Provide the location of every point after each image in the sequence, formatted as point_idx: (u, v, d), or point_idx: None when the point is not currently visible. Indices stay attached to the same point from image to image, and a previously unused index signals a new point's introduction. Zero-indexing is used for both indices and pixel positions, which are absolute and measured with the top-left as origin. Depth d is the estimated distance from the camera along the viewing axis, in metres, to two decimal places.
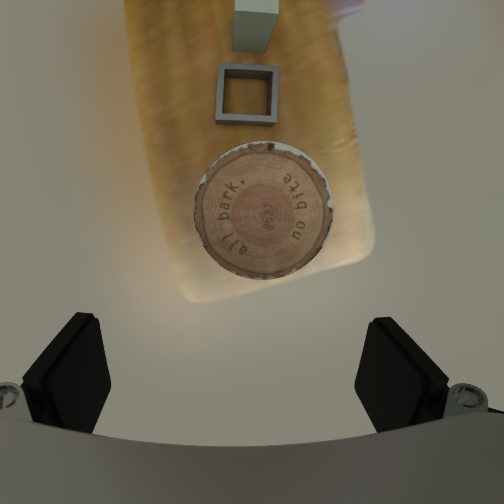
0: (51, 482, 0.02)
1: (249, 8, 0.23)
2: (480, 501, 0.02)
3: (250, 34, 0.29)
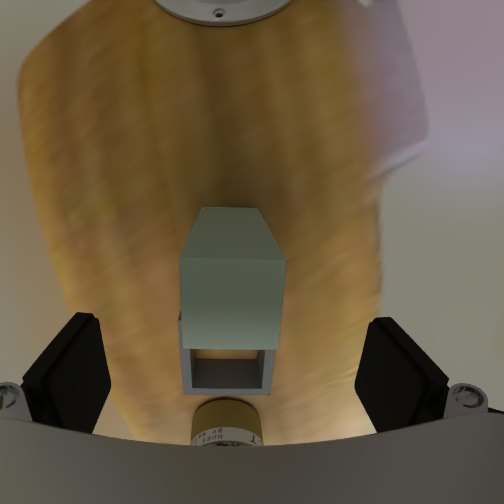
0: (51, 482, 0.02)
1: (213, 343, 0.13)
2: (480, 501, 0.02)
3: None
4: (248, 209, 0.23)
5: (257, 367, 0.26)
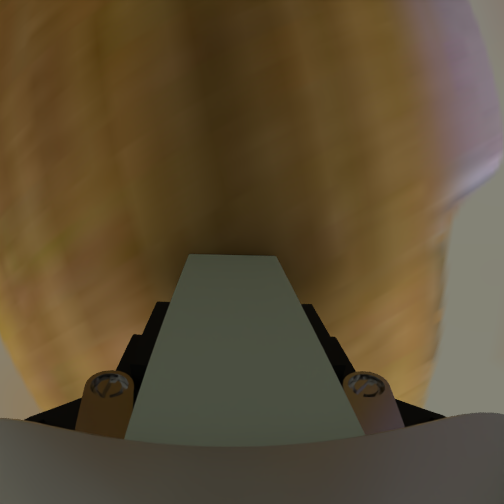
0: (51, 482, 0.02)
1: None
2: (480, 501, 0.02)
3: None
4: (262, 260, 0.14)
5: None
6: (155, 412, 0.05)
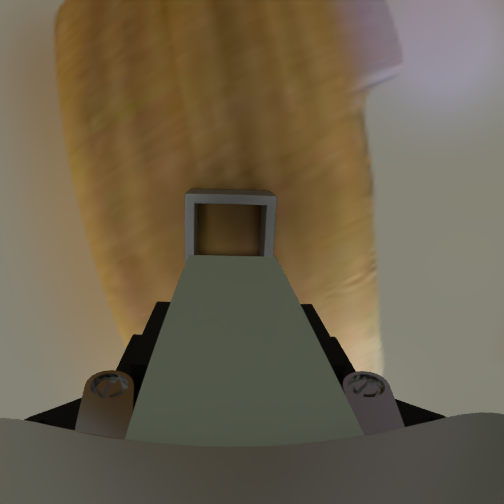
0: (51, 482, 0.02)
1: None
2: (480, 501, 0.02)
3: None
4: (262, 261, 0.14)
5: None
6: (155, 415, 0.05)
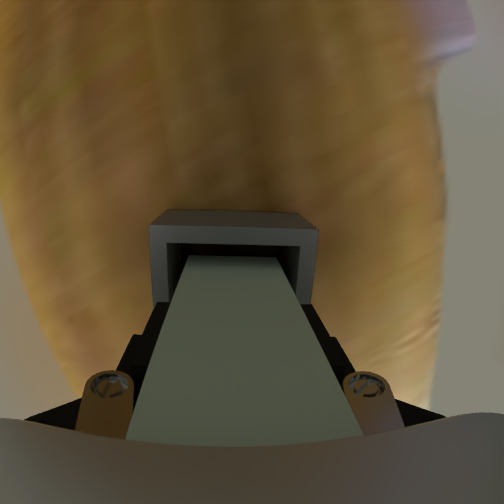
0: (51, 482, 0.02)
1: None
2: (480, 501, 0.02)
3: None
4: (262, 262, 0.14)
5: None
6: (155, 415, 0.05)
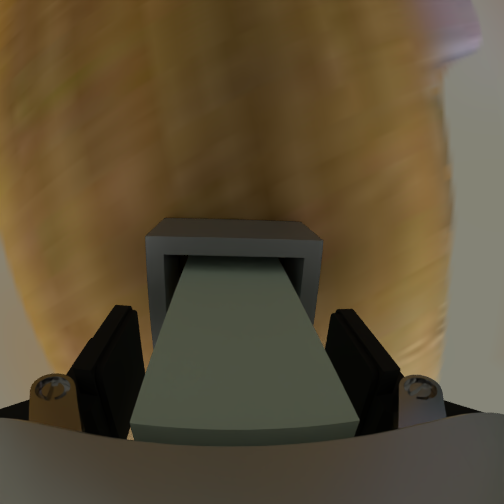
0: (51, 482, 0.02)
1: None
2: (480, 501, 0.02)
3: None
4: None
5: None
6: (167, 364, 0.06)
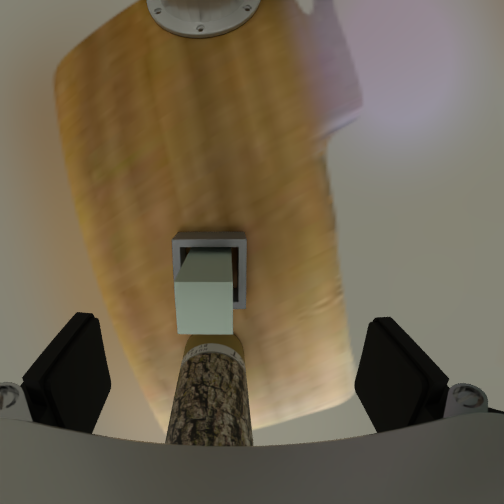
0: (51, 482, 0.02)
1: (195, 330, 0.23)
2: (480, 501, 0.02)
3: None
4: None
5: (237, 292, 0.34)
6: (183, 273, 0.24)
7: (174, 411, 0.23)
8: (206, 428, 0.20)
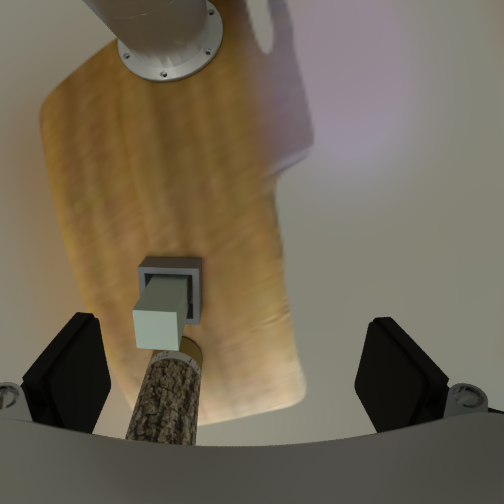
0: (51, 482, 0.02)
1: (149, 346, 0.28)
2: (480, 501, 0.02)
3: None
4: None
5: None
6: (141, 301, 0.29)
7: (136, 406, 0.29)
8: (156, 421, 0.25)
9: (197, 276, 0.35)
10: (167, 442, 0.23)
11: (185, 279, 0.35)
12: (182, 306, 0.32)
